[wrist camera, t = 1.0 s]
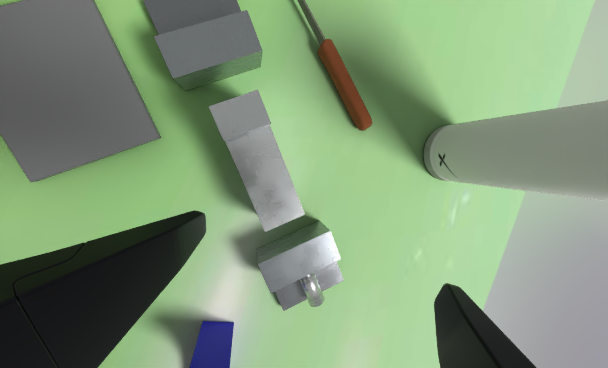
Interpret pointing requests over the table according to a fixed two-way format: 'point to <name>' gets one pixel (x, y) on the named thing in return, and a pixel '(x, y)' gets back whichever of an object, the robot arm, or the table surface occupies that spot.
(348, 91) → the kitchen knife
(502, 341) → the robot arm
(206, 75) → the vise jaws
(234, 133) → the steel bar
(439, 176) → the travel mug
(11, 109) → the mat
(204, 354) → the blue stepped block
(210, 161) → the table surface
